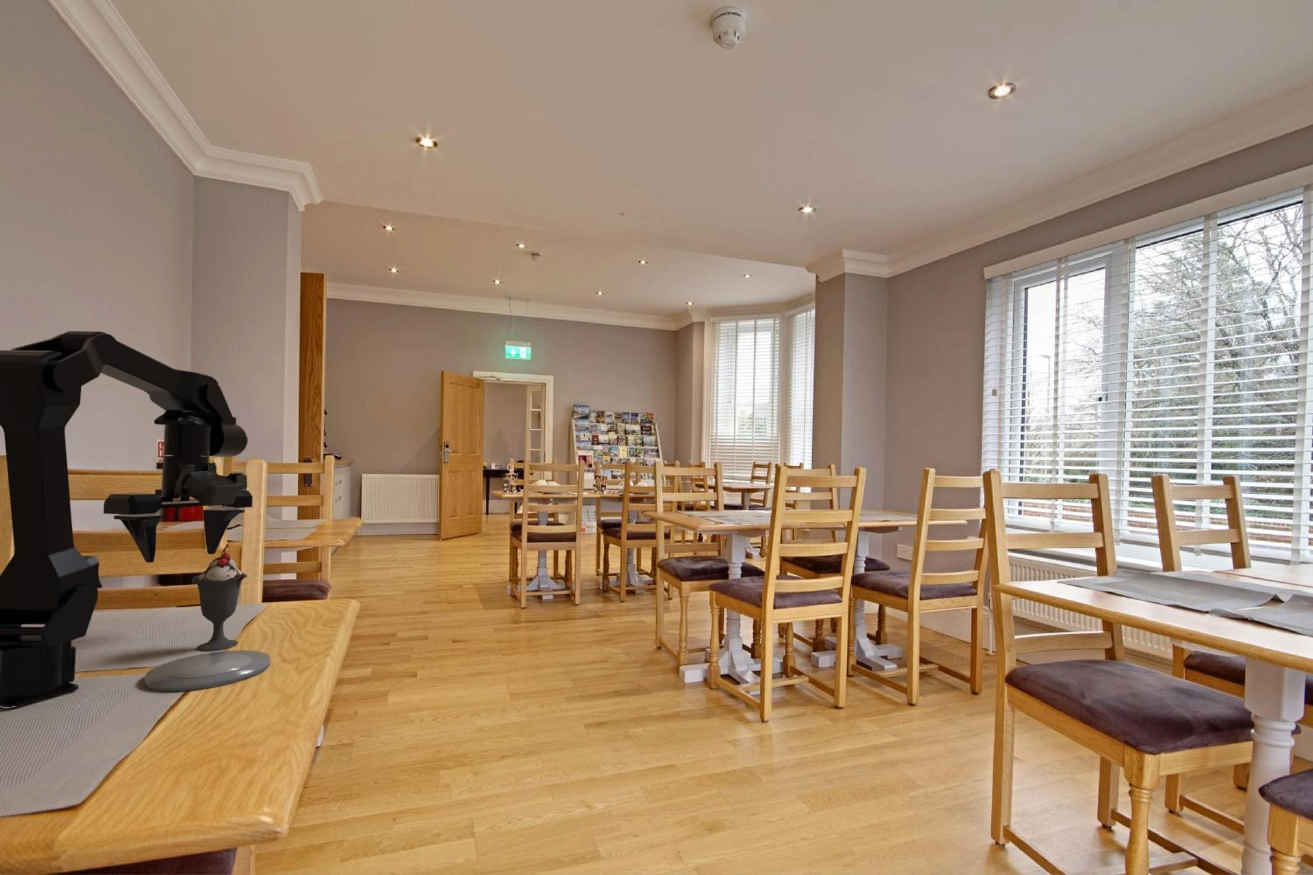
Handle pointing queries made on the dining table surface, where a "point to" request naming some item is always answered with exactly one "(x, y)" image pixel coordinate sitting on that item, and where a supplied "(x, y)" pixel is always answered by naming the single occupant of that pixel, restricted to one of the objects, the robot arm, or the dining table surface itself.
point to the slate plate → (207, 670)
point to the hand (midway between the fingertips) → (181, 558)
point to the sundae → (219, 598)
